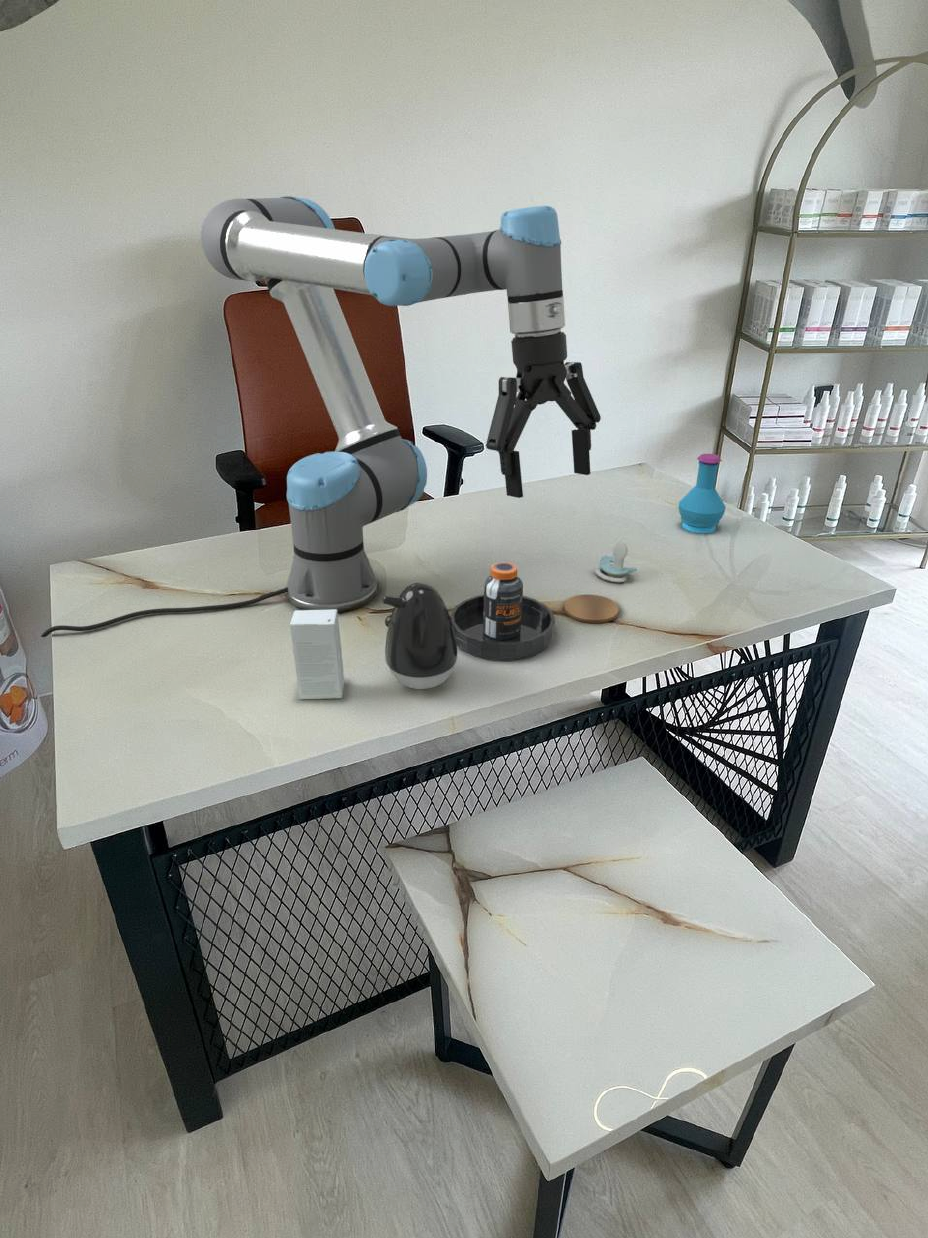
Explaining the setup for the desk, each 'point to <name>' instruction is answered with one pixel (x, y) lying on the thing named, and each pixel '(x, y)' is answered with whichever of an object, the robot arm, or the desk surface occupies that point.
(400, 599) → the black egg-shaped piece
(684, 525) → the perfume bottle
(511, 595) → the pill bottle
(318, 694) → the cosmetic box
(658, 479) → the desk surface
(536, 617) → the pan
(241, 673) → the desk surface
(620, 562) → the pacifier
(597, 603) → the coaster
